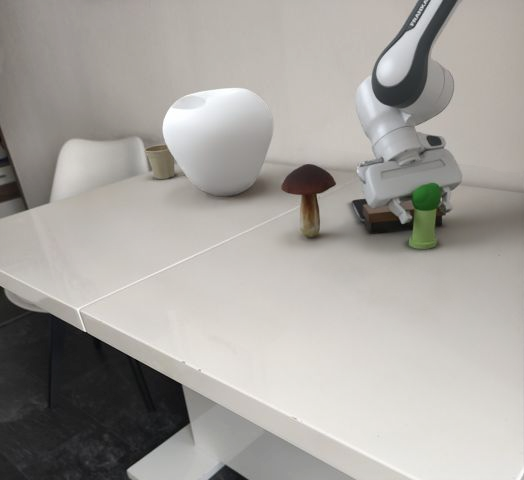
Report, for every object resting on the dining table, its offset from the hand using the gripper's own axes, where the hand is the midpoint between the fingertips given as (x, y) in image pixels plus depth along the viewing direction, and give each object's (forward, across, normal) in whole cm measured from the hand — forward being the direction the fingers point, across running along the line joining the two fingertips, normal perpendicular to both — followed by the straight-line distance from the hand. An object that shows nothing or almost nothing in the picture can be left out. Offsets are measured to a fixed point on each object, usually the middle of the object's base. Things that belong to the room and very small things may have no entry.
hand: (427, 216), depth 102 cm
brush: (-4, +3, +12) cm, 13 cm away
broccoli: (+4, 0, +4) cm, 6 cm away
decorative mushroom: (-8, -16, +16) cm, 24 cm away
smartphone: (-12, +2, +20) cm, 23 cm away
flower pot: (-58, -30, +66) cm, 93 cm away
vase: (-39, -20, +47) cm, 64 cm away
